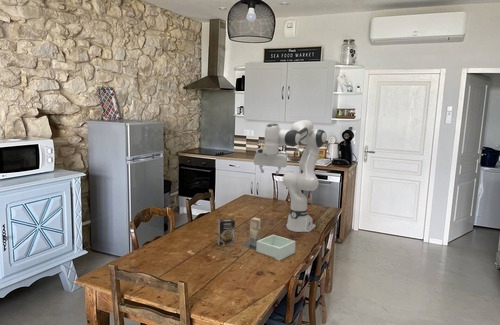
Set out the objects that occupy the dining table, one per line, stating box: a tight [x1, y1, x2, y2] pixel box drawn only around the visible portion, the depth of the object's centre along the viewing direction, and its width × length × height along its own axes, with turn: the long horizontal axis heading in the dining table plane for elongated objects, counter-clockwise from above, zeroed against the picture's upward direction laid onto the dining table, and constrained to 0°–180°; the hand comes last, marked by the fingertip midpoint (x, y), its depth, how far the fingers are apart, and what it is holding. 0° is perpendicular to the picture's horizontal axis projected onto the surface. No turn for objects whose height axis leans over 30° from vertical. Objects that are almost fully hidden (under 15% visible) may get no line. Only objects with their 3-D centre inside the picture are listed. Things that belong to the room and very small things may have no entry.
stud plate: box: [240, 241, 256, 251], centre depth 224 cm, size 12×12×5 cm
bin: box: [255, 234, 296, 261], centre depth 215 cm, size 16×16×7 cm
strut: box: [248, 217, 261, 247], centre depth 223 cm, size 4×4×16 cm
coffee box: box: [217, 217, 236, 247], centre depth 223 cm, size 9×6×16 cm
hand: (269, 173), depth 227 cm, fingers open, 8 cm apart
